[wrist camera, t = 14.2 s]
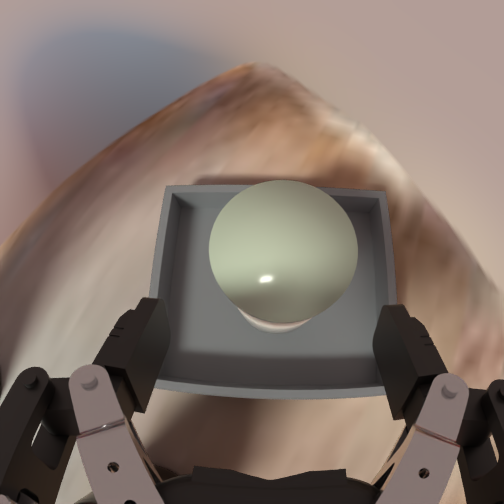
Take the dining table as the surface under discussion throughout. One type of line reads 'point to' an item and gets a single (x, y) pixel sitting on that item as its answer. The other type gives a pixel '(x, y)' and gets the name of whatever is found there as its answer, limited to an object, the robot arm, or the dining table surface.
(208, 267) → the tray
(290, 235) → the green capped canister
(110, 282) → the dining table surface
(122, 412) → the robot arm
